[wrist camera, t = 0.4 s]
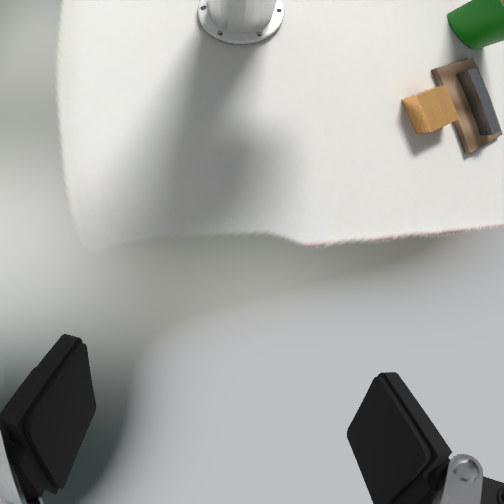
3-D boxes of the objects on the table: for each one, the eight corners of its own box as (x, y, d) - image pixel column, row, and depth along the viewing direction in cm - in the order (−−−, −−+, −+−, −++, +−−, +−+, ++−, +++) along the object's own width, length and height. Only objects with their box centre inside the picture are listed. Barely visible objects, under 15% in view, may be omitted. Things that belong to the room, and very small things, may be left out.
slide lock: (401, 99, 39) (416, 95, 35) (429, 88, 39) (444, 84, 35) (416, 133, 41) (432, 131, 37) (443, 120, 41) (459, 119, 36)
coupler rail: (455, 73, 37) (467, 70, 33) (464, 70, 36) (476, 67, 33) (480, 135, 40) (492, 135, 37) (488, 130, 40) (500, 130, 36)
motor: (470, 12, 34) (531, -13, 14) (488, 49, 36) (554, 32, 17) (442, 10, 34) (506, -23, 15) (461, 49, 36) (533, 27, 17)
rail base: (431, 70, 38) (435, 68, 36) (468, 59, 37) (472, 57, 36) (464, 153, 42) (470, 153, 41) (497, 134, 41) (502, 134, 40)
